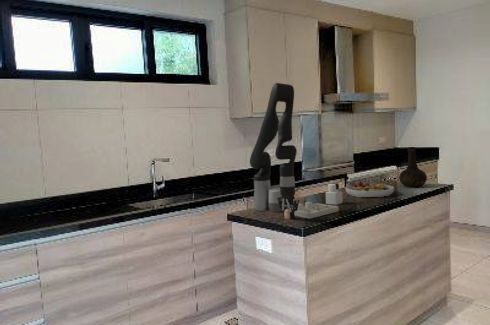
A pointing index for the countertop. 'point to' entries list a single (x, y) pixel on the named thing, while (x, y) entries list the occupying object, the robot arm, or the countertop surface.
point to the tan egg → (287, 214)
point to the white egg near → (300, 207)
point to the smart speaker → (274, 199)
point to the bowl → (369, 189)
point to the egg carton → (316, 210)
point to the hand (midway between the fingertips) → (288, 218)
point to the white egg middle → (308, 205)
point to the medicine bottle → (333, 194)
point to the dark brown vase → (412, 172)
